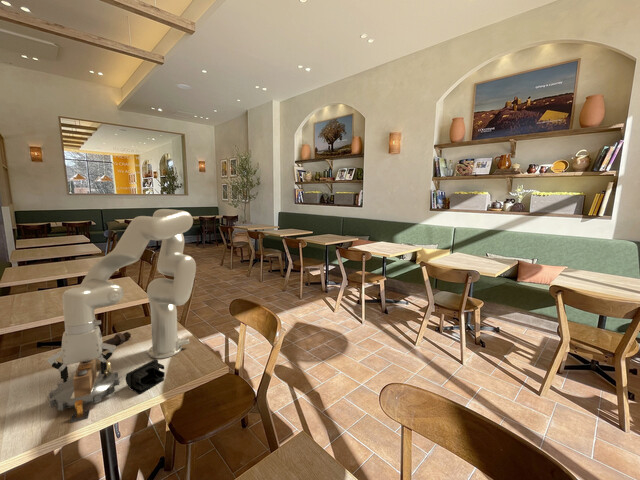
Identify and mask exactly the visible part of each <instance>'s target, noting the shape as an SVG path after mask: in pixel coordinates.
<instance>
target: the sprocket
mask: <svg viewBox="0 0 640 480" xmlns="http://www.w3.org/2000/svg"><path fill="white" fill-rule="evenodd" d="M111 365H112V364H111V361H109V360H107V370H105V372H104V374H101V369H100V370H99V369H98V370H97V374H96V377H95V381H94V384H93V388H92V391H91V393H90V394H86V395H81V396H77V397H75V396H74V386H73V378H74V375H75V374H73V375H72V377H71V378H68V379H67V382H64V383H63V380H62V381H61V380H60V381H59V382H58V383H57V387H56V388H55V389H50V391H49V393H48V397H49V398H48V405H49V406H50V408H53V407H55V406H57V410H58V411H64V410H66V409H67V408H68V409H70V408H75V410H77V403H81V402H82V403H83V406H86V405H90V404H92V403H94V404H97V403H100V402H101V401H102V398H104V397H105V396H107V395H112V394H113V393H115V391H116V390H115V387H116V386H120V382H121V381H120V378H121V377H120V376H119V372H118V371H117V370H115V371H113V372H112V367H111Z"/></svg>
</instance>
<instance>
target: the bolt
mask: <svg viewBox="0 0 640 480" xmlns="http://www.w3.org/2000/svg"><path fill="white" fill-rule="evenodd" d="M131 337H132V334H131V332H129V331H126V332H123V333H121V332H120V333H119V332H118V333H115V335H114V337H111V338H108V339H106V340H104V341H103V340H102V342H103V343H106V344H110V345H115V346H116V345H122V344H124V343H125V341H127V340H129V339H130V338H131ZM104 350H105V349H103V351H104Z"/></svg>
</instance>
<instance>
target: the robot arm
mask: <svg viewBox="0 0 640 480" xmlns="http://www.w3.org/2000/svg"><path fill="white" fill-rule="evenodd" d="M193 223H194V218H193V216H192V215H191V213H190V212H188V211H186V210H178V209H172V208H171V209H169V208H160V209H157V210H155V211H154V213H153V214H152V216H149V215H148V216H146V215H140V216H139V215H138V216H136V217H134V218H133V219H132V220H131V221H130V222H129V224H128V226H127V227H126V229H125V231H124V233H123V234H122V235H121V237H120V239H119V240H118V242H117V243H116V245H115V247H113V249H112V251H110V252H109V253H107V254H106V255H104V256H103V257H102V258H101V259H99V260H98V261H97V262H96V263H95V264H93V266H91V268H90V269H89V271H88V272H87V273H86V275H85V276H84V278H83V280H82V282H80V286H79V287H73V288H68V289H67V290H65V291H64V292H63V293H62V295H61V296H62V297H61V298H62V299H61V300H62V308H63V309H62V310H63V311H62V312H63V318H64V319H63V322H64V330H65V331H63V333H62V339H61V350H60V351H58V352H56V353H54V354H52V355H50V356H49V357H48V358H47V359H46V361H47V363H48V364H49V365H50V366H51V367H52V368H53V369H56V370H57V371H58V372H59V374H60V380H62V381H63V383H64V382H67V380H68V379H69V369H68V365H73V364H79V363H80V362H84V361H89V360H94V359H96V360H99V361H100V370H101V374H104V372H105V370H107V361H109V359H110V358H111V357H112V356H113V353H114V352H115V350H116V347H117V346H116V344H115V345H110V344H106V343H103V337H102V332H101V329H100V326H99V325H101V324H102V320H101V319H100V320H99V319H98V320H97V319H96V312H95V309H97V308H104V307H109V306H114V305H115V304H118V303H119V302H120V301H122V299H123V298H124V297H123V296H124V294H125V293H124V289H123V287H121V286H120V285H119V284H117V283H114V282H109V279H110V277H112V275H113V274H115V273H116V272H117V271H118V270H119V269H121V268H124V267H126V266H129V265H132V264H134V263H136V262H138V261H139V260H140V259H141V257H142V256H143V253H144V251H145V249H147V246H148V245H149V243H150V241H158V242H159V241H161V245H160V251H159V255H158V258H157V264H156V270H157V271H158V273H159V274H161V275H163V276H164V275H165V276H169V277H173V279H171V278H164V277H158V278H154V279H153V280H151V281H150V282H149V284H148V285H147V289H146V295H147V296H146V297H147V299H148V302H149V307H150V325H151V328H150V329H151V344H152V345H151V347H150V348H149V349H148V351H147V352H148V356H149V357H150V358H153V359H166V358H170V357H173V356H175V355H177V354H179V353H180V352H181V350H182V349H183V345H188V344H189V345H190V338H186V337H182V338H180V337H179V335H178V316H177V315H178V312H177V311H178V310H177V306H183V305H185V304H186V303H187V302H188V301H189V299H190V297H191V295H192V290H193V286H194V281H195V276H196V271H197V263H196V261H195V259H194V258H193V257H192V256H190V255H189V254H184V249H185V236H184V233H186V232H188V231H189V230H190V229H191V228H192V227H193ZM103 349H104V350H108V352H107V353H104V350H103ZM60 357H61V361H62V362H60V361H57V359H58V358H60Z"/></svg>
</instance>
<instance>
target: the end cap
mask: <svg viewBox="0 0 640 480" xmlns="http://www.w3.org/2000/svg"><path fill="white" fill-rule="evenodd" d="M158 359H159V358H153V359H151V360H150V361H148V362H146V363H144V364H143V365H141V366H138V367H136V368H134V369H133V370H131V371H129V372H127V373H126V374H125V383H126V386H127V387H128V388H129V389H130V390H131V391H132V392H134V393H136V394H138V395H142V394H144V393H145V392H147V391H148V390H151V389H153V388H154V387H155V386H157V385H159V384H160V383H162V382H164V381H165V379H164V378H165V372H164V371H163V370H165V365H163V364H161V363H159V360H158ZM160 369H161V370H162V371H161V370H160Z"/></svg>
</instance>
